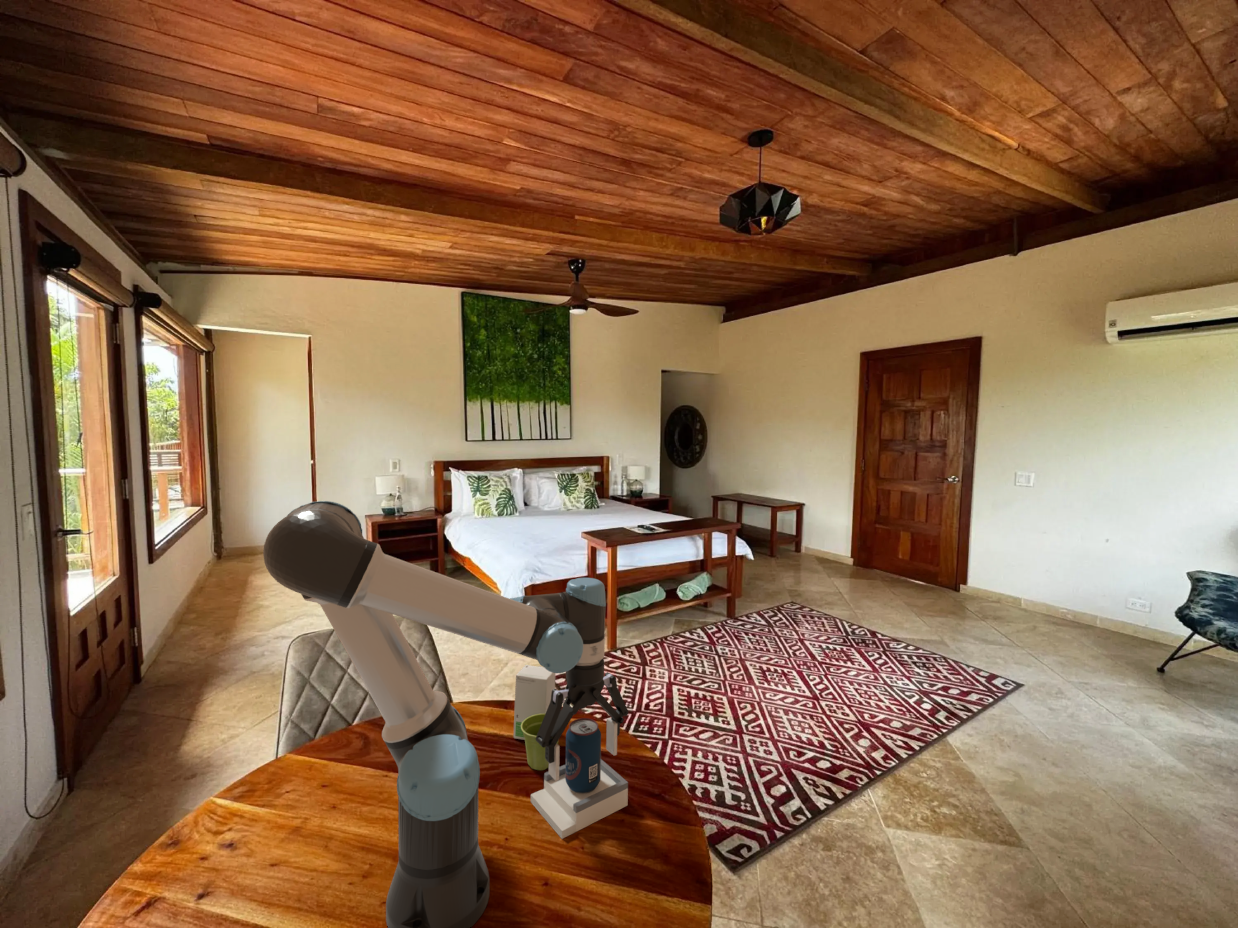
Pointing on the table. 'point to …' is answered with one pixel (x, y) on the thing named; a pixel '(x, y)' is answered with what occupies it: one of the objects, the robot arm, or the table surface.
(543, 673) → the skincare box
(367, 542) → the robot arm
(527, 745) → the plant pot
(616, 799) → the dock
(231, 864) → the table surface
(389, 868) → the table surface
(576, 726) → the soda can
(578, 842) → the table surface
